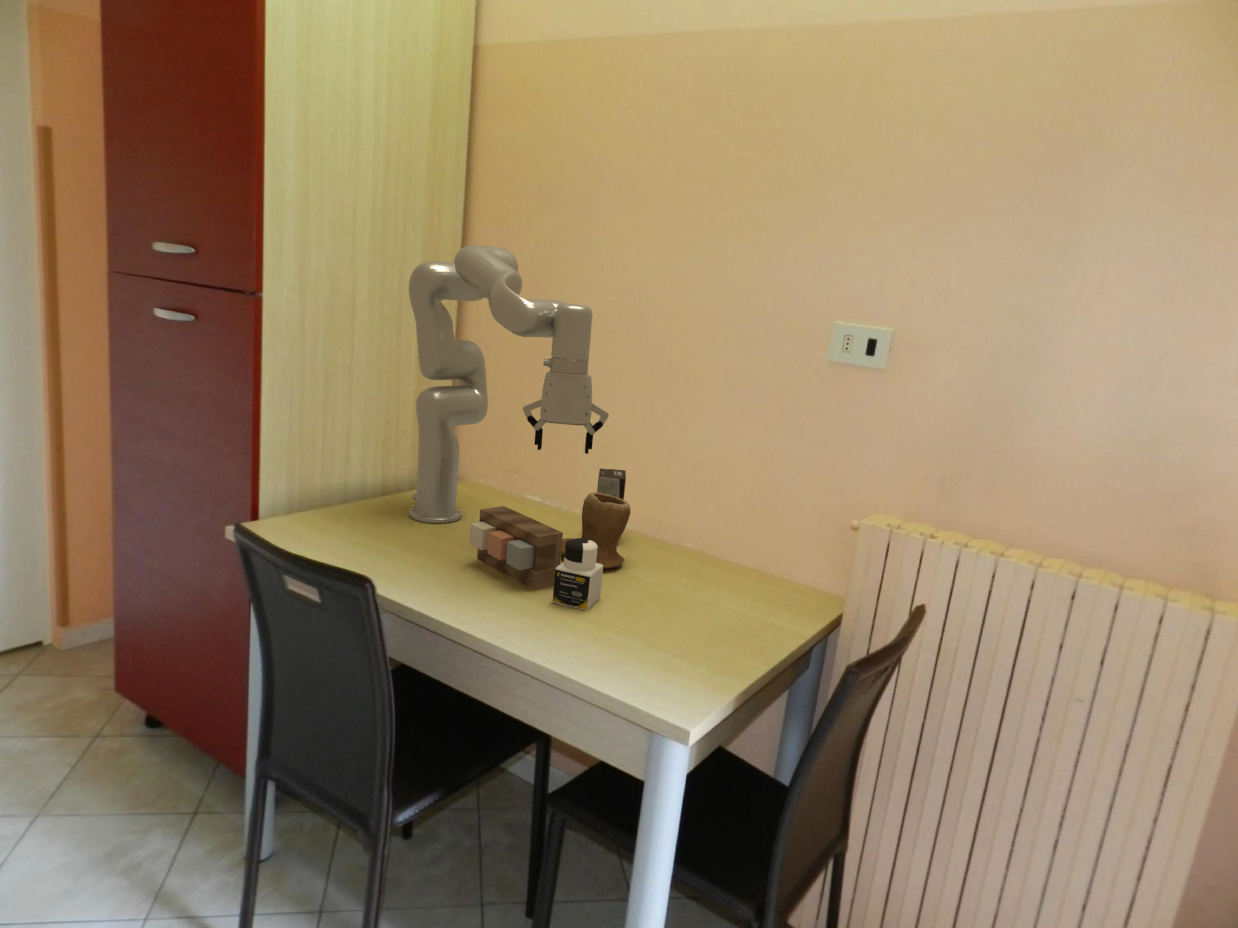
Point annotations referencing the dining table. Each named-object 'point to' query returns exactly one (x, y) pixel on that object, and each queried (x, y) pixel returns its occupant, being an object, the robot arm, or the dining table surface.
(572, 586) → the medicine bottle
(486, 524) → the ivory key
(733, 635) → the dining table surface
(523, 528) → the wooden button box
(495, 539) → the terracotta key
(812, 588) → the dining table surface
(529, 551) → the slate key
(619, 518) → the stone cup
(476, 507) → the dining table surface
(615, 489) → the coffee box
